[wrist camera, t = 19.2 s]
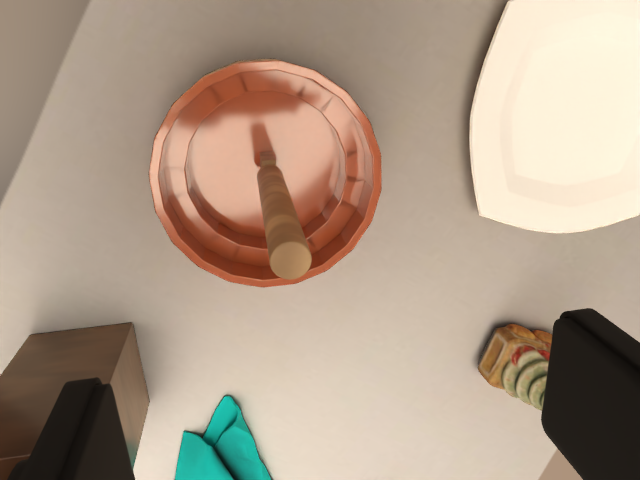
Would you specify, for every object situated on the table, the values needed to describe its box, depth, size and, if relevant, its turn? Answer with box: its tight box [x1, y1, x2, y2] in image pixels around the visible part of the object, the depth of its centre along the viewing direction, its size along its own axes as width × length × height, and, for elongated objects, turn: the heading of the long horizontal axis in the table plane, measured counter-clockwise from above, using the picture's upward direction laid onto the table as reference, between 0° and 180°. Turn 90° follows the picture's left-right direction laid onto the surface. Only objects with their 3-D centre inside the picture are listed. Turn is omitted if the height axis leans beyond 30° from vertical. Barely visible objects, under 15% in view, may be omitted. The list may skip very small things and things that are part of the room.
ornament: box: [478, 324, 552, 410], centre depth 44 cm, size 8×6×10 cm
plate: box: [469, 0, 640, 233], centre depth 40 cm, size 19×19×2 cm
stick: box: [257, 151, 312, 280], centre depth 30 cm, size 2×2×18 cm
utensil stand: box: [0, 323, 150, 480], centre depth 32 cm, size 8×8×23 cm
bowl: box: [149, 58, 381, 287], centre depth 36 cm, size 15×15×6 cm
